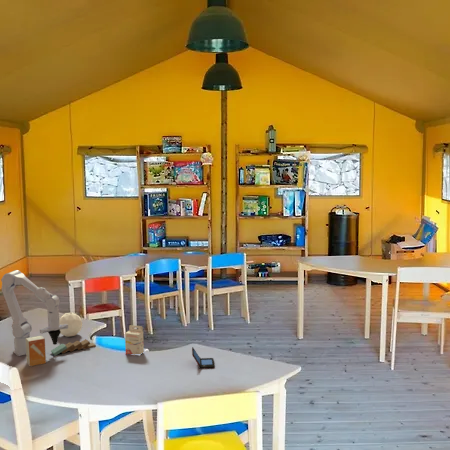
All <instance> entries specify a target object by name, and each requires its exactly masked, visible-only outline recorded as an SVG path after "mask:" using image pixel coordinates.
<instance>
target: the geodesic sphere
mask: <svg viewBox="0 0 450 450" xmlns="http://www.w3.org/2000/svg"><path fill="white" fill-rule="evenodd" d="M59 324H60V325H65V324H67V325H68V329H61V330H60V331H61V333H60V335H63V336H65V337H66V338H68V337H69V338H70V337H75V336H77V335H78V333H80V332H81V330H82V328H83V327H82V326H83V321H82V318H81V317H80V315H78V312H77V311H76V312H65V313H64V314H63V315H62V316H61V317H59Z"/></svg>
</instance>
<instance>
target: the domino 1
mask: <svg viewBox="0 0 450 450" xmlns="http://www.w3.org/2000/svg"><path fill="white" fill-rule="evenodd" d="M65 345H66V344H64V343H61V344H59V345H58V346H56V347H55V348H53V349H51V350H50V352H51V354H52V355H54V357H55V356H57V355H59V354H60V353H61V352H62V351H64V350H65V349H67V347H66V346H65ZM61 354H62V353H61Z"/></svg>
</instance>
